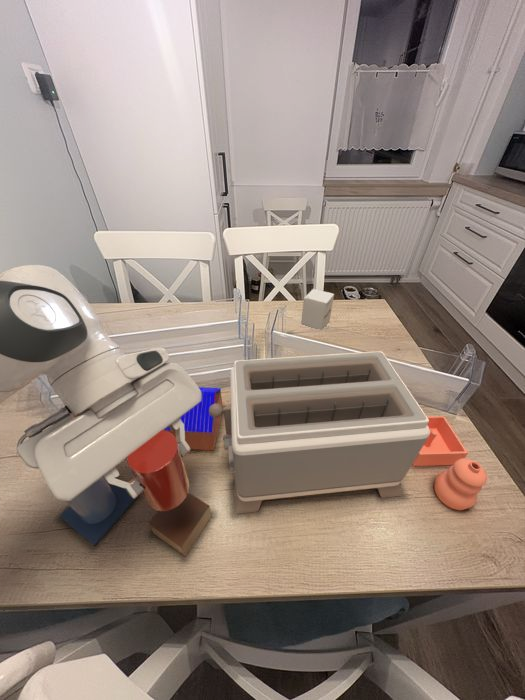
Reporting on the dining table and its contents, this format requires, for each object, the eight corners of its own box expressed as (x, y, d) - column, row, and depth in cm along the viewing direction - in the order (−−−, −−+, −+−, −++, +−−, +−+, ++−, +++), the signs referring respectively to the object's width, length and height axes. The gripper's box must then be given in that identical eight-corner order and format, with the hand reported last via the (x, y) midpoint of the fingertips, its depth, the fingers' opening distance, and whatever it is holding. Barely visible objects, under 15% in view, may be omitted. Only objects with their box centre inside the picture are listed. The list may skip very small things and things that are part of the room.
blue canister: (95, 531, 49) (71, 504, 43) (72, 512, 51) (46, 484, 45) (124, 498, 53) (106, 470, 47) (102, 483, 55) (81, 453, 49)
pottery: (395, 428, 66) (409, 399, 60) (436, 427, 66) (454, 398, 60) (435, 512, 52) (458, 485, 46) (487, 511, 52) (517, 484, 46)
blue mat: (94, 546, 48) (93, 545, 47) (60, 517, 51) (59, 516, 51) (137, 497, 54) (136, 495, 53) (104, 474, 57) (103, 473, 57)
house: (215, 451, 61) (209, 416, 54) (122, 446, 62) (103, 410, 55) (224, 407, 71) (220, 372, 63) (143, 403, 71) (130, 368, 64)
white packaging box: (320, 338, 93) (326, 303, 85) (299, 331, 96) (303, 297, 88) (329, 327, 98) (335, 293, 90) (308, 321, 101) (312, 287, 93)
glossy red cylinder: (169, 519, 39) (152, 482, 33) (137, 497, 41) (115, 458, 35) (197, 481, 43) (187, 441, 37) (167, 463, 45) (152, 423, 39)
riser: (185, 556, 47) (181, 547, 44) (153, 533, 49) (147, 523, 47) (212, 515, 51) (209, 505, 49) (181, 496, 54) (177, 485, 51)
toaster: (218, 426, 66) (208, 357, 54) (363, 414, 69) (386, 345, 56) (217, 516, 51) (202, 450, 39) (402, 495, 54) (446, 428, 42)
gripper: (2, 438, 29) (86, 548, 30) (174, 342, 41) (228, 422, 42) (10, 440, 33) (82, 534, 35) (161, 354, 46) (210, 425, 47)
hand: (163, 472), depth 39 cm, fingers closed on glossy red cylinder, 6 cm apart
